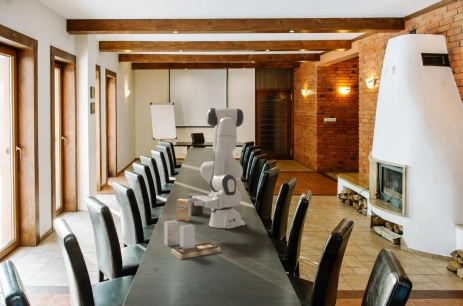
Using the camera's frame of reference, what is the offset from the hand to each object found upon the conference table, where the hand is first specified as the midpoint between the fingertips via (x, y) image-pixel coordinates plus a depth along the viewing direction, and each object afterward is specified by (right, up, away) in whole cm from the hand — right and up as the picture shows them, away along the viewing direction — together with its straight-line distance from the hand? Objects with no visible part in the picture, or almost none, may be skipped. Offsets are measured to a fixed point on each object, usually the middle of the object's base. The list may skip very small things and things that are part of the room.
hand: (191, 202), depth 233 cm
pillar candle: (-3, -15, +62) cm, 64 cm away
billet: (0, -21, -20) cm, 29 cm away
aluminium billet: (-10, -21, -4) cm, 24 cm away
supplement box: (-9, -16, +46) cm, 50 cm away
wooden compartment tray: (+4, -23, -17) cm, 29 cm away
